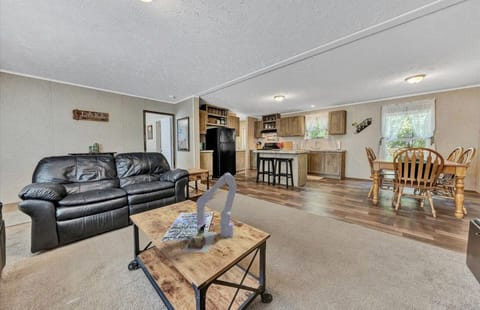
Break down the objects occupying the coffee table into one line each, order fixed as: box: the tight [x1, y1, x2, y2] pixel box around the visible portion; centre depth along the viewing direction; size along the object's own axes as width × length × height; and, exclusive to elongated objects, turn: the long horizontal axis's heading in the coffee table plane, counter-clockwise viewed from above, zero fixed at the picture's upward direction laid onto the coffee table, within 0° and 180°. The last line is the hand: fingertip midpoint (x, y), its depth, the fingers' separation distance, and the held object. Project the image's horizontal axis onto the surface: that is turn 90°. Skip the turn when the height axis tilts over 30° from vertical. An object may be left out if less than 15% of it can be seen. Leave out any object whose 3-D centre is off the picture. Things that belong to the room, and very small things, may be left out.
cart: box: [194, 230, 204, 243], centre depth 114 cm, size 6×5×6 cm
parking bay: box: [188, 238, 205, 249], centre depth 109 cm, size 9×7×2 cm
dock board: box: [181, 231, 217, 253], centre depth 114 cm, size 16×24×1 cm, turn 176°
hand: (201, 235), depth 119 cm, fingers closed
